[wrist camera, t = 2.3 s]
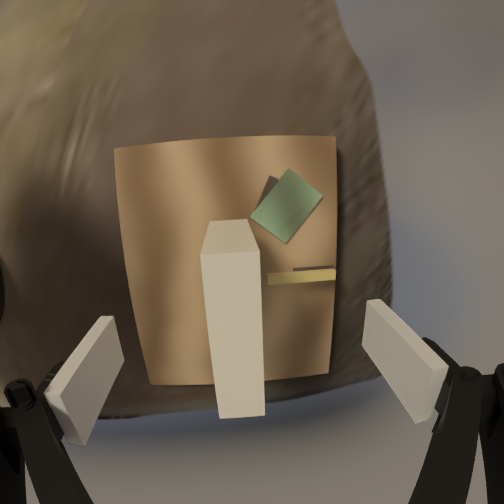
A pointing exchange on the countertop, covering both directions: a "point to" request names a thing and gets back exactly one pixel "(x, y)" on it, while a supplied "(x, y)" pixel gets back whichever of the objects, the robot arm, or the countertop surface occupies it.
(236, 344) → the cream piece
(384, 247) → the countertop surface
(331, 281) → the light wood flat board
